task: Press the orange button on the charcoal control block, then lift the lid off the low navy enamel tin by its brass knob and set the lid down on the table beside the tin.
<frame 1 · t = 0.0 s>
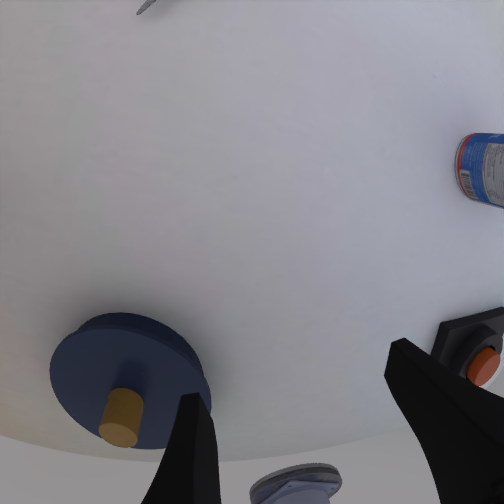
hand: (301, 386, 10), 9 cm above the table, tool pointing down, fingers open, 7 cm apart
tin lid: (127, 395, 18), point 2 cm above the table, touching tin
pill bottle: (472, 166, 19), on the table
control block: (463, 349, 25), on the table
tin: (133, 373, 20), on the table
button: (483, 366, 21), point 3 cm above the table, slide at 0.1 cm
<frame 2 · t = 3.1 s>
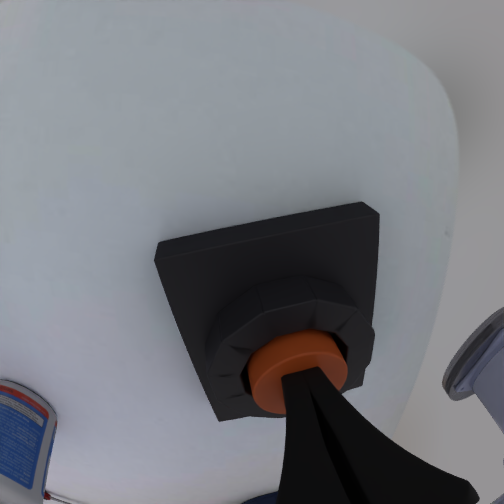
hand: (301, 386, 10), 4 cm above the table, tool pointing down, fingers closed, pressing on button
pill bottle: (24, 402, 15), on the table
control block: (278, 322, 14), on the table
tin: (280, 501, 28), on the table
scissors: (47, 492, 23), on the table
button: (296, 372, 11), point 3 cm above the table, slide at -0.2 cm, touching gripper
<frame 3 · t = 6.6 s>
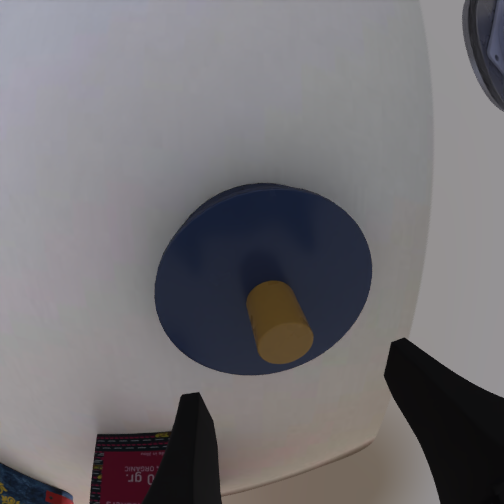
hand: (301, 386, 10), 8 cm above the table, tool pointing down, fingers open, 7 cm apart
tin lid: (268, 294, 16), point 2 cm above the table, touching tin
book: (9, 470, 29), on the table
tin: (259, 271, 18), on the table
box: (166, 465, 28), on the table
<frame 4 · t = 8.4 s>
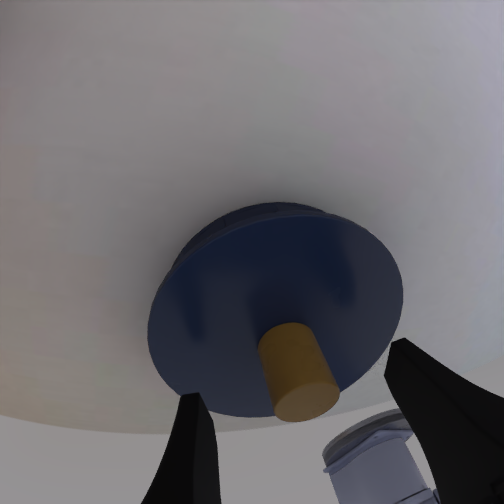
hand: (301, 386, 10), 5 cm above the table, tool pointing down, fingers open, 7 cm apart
tin lid: (283, 336, 13), point 2 cm above the table, touching tin
tin: (271, 303, 15), on the table
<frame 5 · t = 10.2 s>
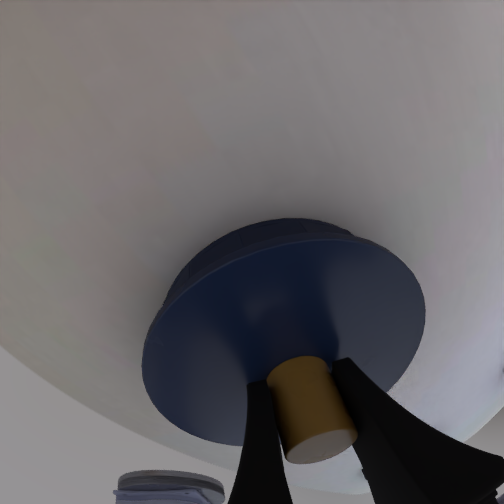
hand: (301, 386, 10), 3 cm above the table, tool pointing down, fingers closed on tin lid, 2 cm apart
tin lid: (293, 367, 11), point 2 cm above the table, touching gripper, tin
tin: (280, 328, 13), on the table
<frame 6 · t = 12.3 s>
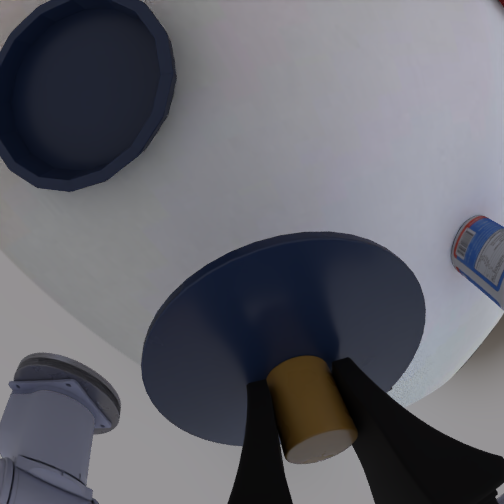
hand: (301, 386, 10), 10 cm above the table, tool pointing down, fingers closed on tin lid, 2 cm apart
tin lid: (293, 367, 11), point 9 cm above the table, touching gripper
pill bottle: (469, 241, 22), on the table
tin: (82, 87, 13), on the table
when the fingers open (2 cm above the table, at t = 14.4 s): tin lid stays where it is, point 1 cm above the table.
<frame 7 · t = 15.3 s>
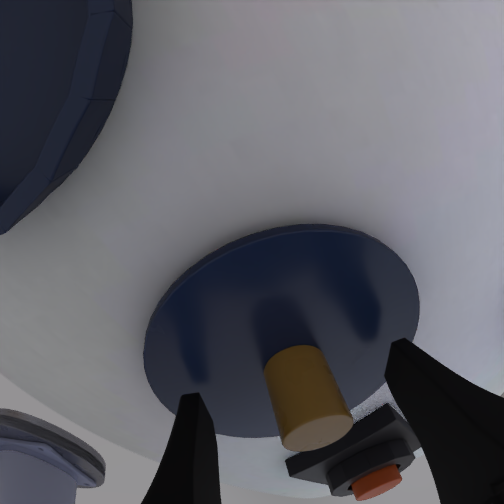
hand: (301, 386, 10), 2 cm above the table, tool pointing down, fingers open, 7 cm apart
tin lid: (291, 357, 12), point 1 cm above the table
control block: (361, 448, 19), on the table
button: (376, 482, 16), point 3 cm above the table, slide at 0.1 cm
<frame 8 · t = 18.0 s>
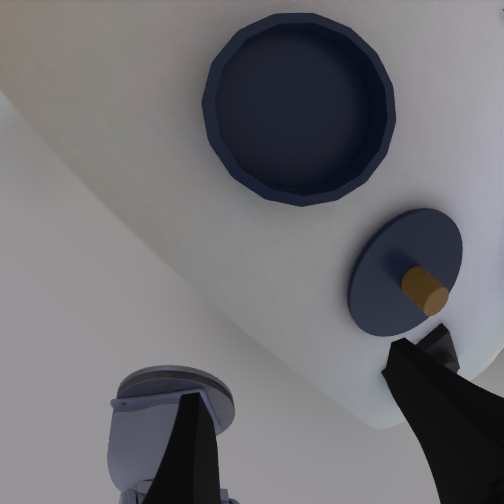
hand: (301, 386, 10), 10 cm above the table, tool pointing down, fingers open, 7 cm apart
tin lid: (409, 276, 22), point 1 cm above the table
control block: (422, 366, 29), on the table
tin: (295, 107, 16), on the table
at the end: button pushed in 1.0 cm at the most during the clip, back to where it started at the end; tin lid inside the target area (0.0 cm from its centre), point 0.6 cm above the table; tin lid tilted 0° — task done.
